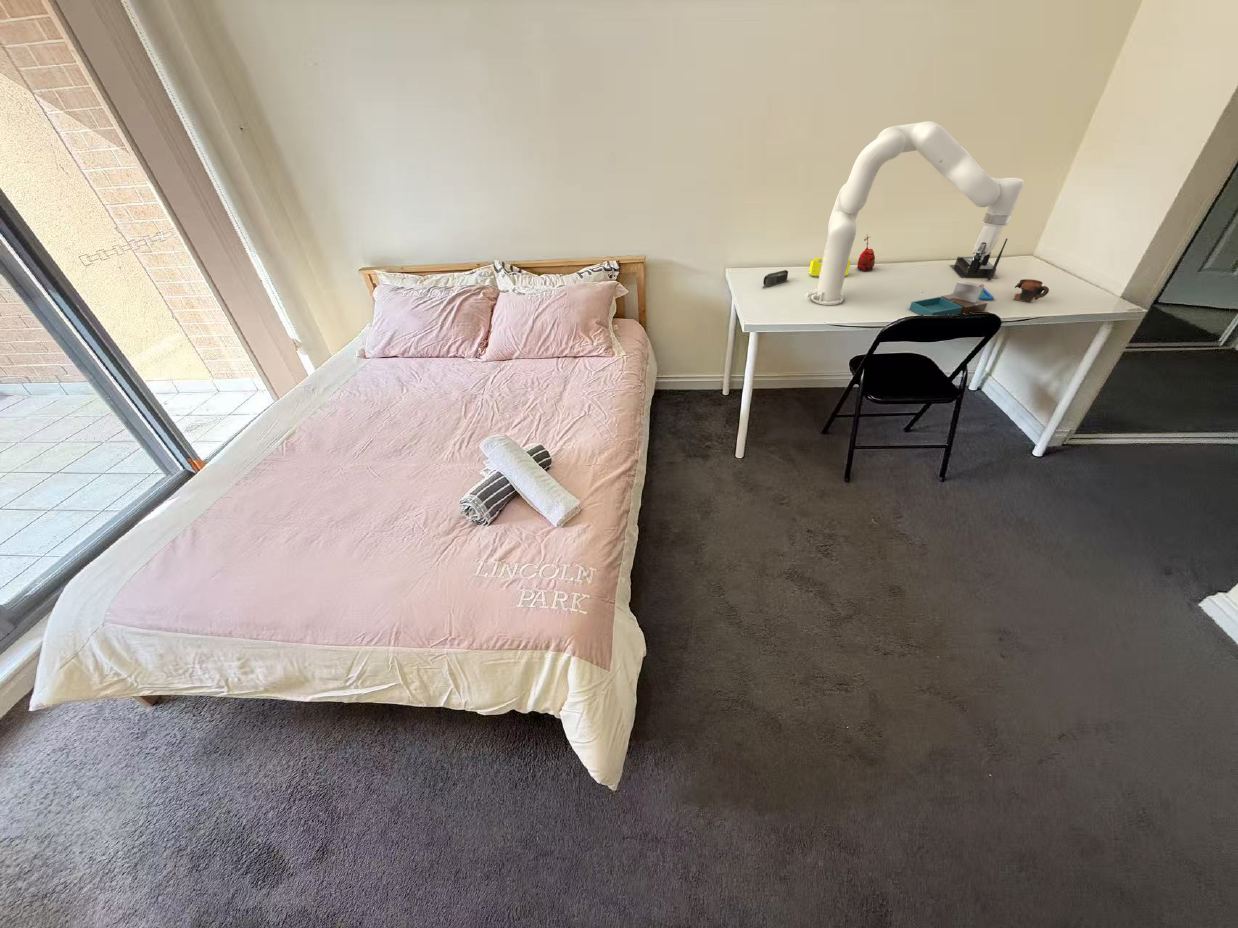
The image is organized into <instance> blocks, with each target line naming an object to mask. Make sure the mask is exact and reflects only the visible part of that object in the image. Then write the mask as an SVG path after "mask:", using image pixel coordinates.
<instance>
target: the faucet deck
mask: <svg viewBox="0 0 1238 928" xmlns="http://www.w3.org/2000/svg"><path fill="white" fill-rule="evenodd" d="M952 294H953V292H951V294H950V293H949V294H946V295H945V294H944V295H941V296H940V297H942V298H944V299H947V300H949V301H950V302H953V303H955V304H957V305H959V306H961V307H963V308H962V310H961V313H960V315H962V314H963V313H969V314H971V313H970V312H974V313H979V312H984V311H985V310H986V308H987V307H988V306H987V305H988V302H986V301H985V300H980V299H978V301H977V302H976V303H974V302H969V301H964V300H959V299H955V298H951V297H952Z"/></svg>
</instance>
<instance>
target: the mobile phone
mask: <svg viewBox="0 0 1238 928" xmlns="http://www.w3.org/2000/svg"><path fill="white" fill-rule="evenodd" d="M788 276H789V270H787V269H784V270H779V271H775V272H770V273H767V274H766V275H764V277H763V280H762V281H763V282H762V285H763V286H762V289H764V288H767V287H771V286H774V285H778V284H779V285H780V284H783V283H786V282H787V281H788Z"/></svg>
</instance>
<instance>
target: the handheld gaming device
mask: <svg viewBox="0 0 1238 928" xmlns="http://www.w3.org/2000/svg"><path fill="white" fill-rule="evenodd" d="M979 299H980V300H982V301H993V300H994V299H995V297H994V296H993V295H992V294H991V293H990V292H989V291H987V289H985V287H983V290H982V292H981V294H980V297H979Z"/></svg>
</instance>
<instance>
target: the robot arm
mask: <svg viewBox="0 0 1238 928" xmlns="http://www.w3.org/2000/svg"><path fill="white" fill-rule="evenodd" d="M915 151H917V152H918V153H919V154H920V155H921V156H922V157H923V158H924V159H925V160H926V161H927V162H928V163H929V164H930V165H931V166H932V167H933V168H934V169H935V170H936V171H937V172H938V173H939V174H940V175H941V176H943V178H945V179H946V180H947V181H948V182H950V183H951V184H952V185H954V186H955V187H956V188H957V189H958V190H959V191H961V193H962V194H964V195H965V196H966V197H967V198H968V200H969V201H970V202H972V203H973V205H975V206H976V207H978V208H987V209H986V212H985V215H984V218H983V220H982V224H983V227H982V228H981V231H980V232H979V234H978V237H977V239H976V242H975V244H974V246H973V249H972V251H971V253H972V255H974V256H973V257H974V258H973V260H972V262H971V265H970V267H969V270H968V272H970V273H975V274H977V273H978V272H979V269H980V267H981V266H986V265H987V263H988V262H989V260H990V258H991V255H992V252H993V250H994V249H995V247H996V245H997V243H998V241H999V238H1000V236H1001V234H1002V231H1003V229H1004V227H1005V226H1008V225H1009V222H1010V220H1011V217H1012V215H1013V213H1014V210H1015V207H1016V205H1017V203H1018V200H1019V198H1020V196H1021V193H1022V191H1023V189H1024V186H1025V181H1024V179H1022V178H1019V177H1004V178H1001V177H1000V178H999V177H992V176H990V175H989V174H988V173H987V172H986V171H985V170H984V169H983V168H982V167H981V166H980V165H979V164H978V162H976V160H975V159H974V157H972V155H971V154H970V153H969V152H968V151H967V150H966V149H965V148H964V147H963V146H962V145H961V144H960V143H959V142H958V141H957V140H956V139H955V138H954V137H953V136H952V135H951V134H950V133H949V132H948V131H947V130H946V129H945V128H944V127H943V126H942V125H940V123H937V122H936V121H934V120H933V121H932V120H927V121H920V122H914V123H905V124H898V125H891V126H889V127H886V128H884V129H882V131H880V132H879V134H877V137H876V138H875V139H874V140H873V141H871V142H870V143H868V144H867V145H866V146H865V147H864V148H863V149H861V152H860V153H859V154H858V155H857V158H856V159H855V161H854V162H853V163H854V164H853V166H852V168H851V171H850V174H849V177H848V178H847V180H846V182H845V183H844V184H843V185H842V186H841V187H840V189H839V192H838V194H837V196H836V199H835V202H834V205H833V207H832V211H831V214H830V216H829V219H828V224H827V239H826V244H825V246H824V252H823V255H822V258H823V261H822V266H821V270H820V275H819V277H818V281H817V287H814V289H813V290H812V291H807V292H805V293H804V297H805V298H810V300H812V302H814V303H816V304H818V305H824V306H836V305H840V304H842V303H843V301H844V296H843V294H842V290H843V285H844V282H845V277H846V275H845V273H846V269H847V265H848V260H850V255H851V251H852V248H853V246H854V242H855V238H856V234H857V224H856V219H857V216H858V214H859V212H860V211H861V210H862V209H863V208H864V207H865V205H866V203H867V200H868V198H869V195H870V192H871V190H872V188H873V187H872V186H873V184H874V182H875V179H876V177H877V174H878V172H879V170H880V169H881V167H882V166H884V164H886V163H887V162H889V161H890V160H894V159H895V158H897V157H898V156H899V155H901V154H903V153H909V152H915Z"/></svg>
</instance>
